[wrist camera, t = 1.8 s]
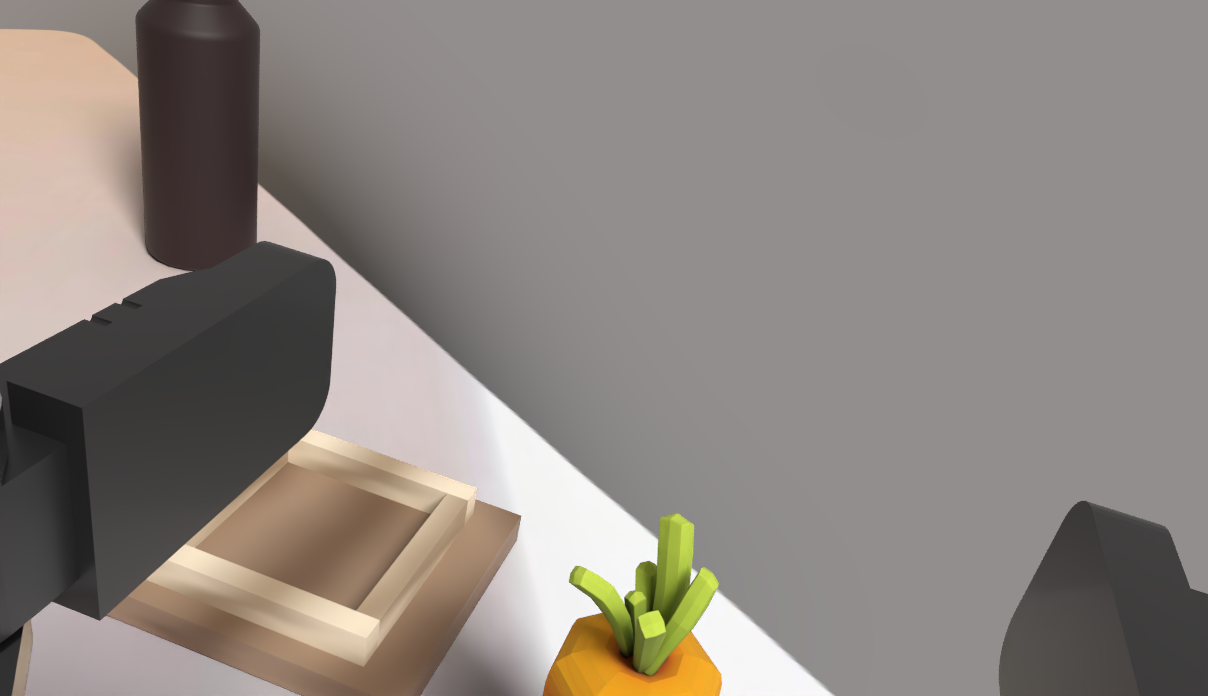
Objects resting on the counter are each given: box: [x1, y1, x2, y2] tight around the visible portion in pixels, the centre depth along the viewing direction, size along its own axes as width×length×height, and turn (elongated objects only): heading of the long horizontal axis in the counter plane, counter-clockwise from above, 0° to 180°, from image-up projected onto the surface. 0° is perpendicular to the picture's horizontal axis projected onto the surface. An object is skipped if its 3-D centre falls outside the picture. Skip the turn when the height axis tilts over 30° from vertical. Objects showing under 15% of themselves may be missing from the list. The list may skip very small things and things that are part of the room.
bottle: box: [136, 0, 260, 271], centre depth 60 cm, size 7×7×20 cm
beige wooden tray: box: [107, 429, 521, 696], centre depth 42 cm, size 14×12×3 cm
